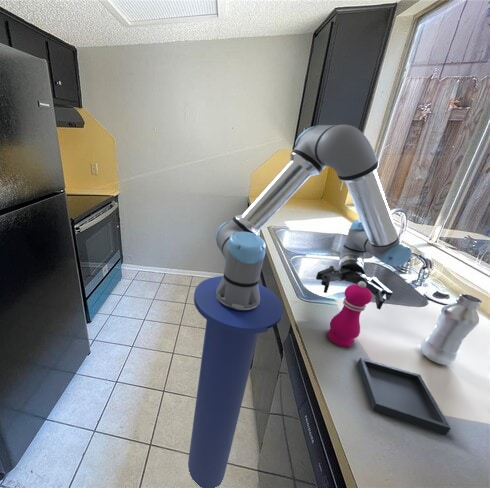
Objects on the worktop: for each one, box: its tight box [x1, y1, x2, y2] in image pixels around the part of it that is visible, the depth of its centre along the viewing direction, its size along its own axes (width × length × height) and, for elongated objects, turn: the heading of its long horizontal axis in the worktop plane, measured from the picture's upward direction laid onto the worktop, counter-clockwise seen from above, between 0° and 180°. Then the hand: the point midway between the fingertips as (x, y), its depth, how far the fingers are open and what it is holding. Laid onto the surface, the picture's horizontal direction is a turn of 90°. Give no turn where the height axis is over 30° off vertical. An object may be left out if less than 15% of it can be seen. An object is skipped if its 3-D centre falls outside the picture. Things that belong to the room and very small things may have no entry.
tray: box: [356, 357, 452, 435], centre depth 60 cm, size 14×13×2 cm
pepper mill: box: [327, 281, 373, 348], centre depth 72 cm, size 7×7×20 cm
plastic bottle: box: [420, 293, 483, 366], centre depth 67 cm, size 6×7×20 cm
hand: (352, 296), depth 77 cm, fingers open, 13 cm apart
